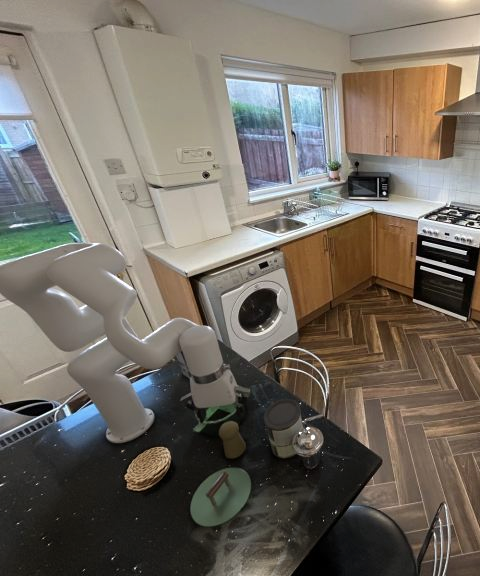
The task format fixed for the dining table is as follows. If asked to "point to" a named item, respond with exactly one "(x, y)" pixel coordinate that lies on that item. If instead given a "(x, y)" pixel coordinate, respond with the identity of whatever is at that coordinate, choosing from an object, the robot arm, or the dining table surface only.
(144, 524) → the dining table surface
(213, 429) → the pot
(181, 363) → the coffee box
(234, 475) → the lid
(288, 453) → the coffee can
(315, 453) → the cup with straw
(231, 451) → the cork
